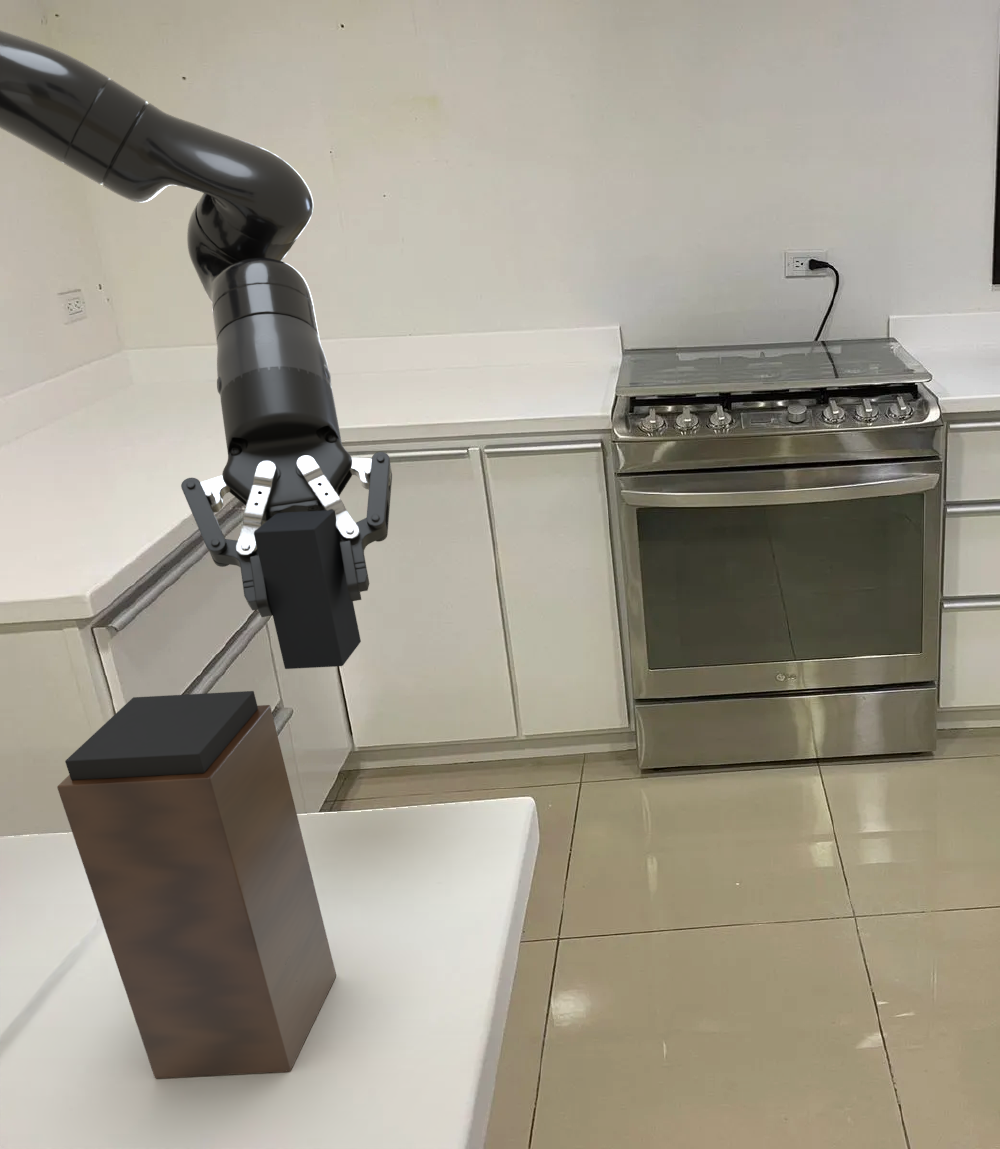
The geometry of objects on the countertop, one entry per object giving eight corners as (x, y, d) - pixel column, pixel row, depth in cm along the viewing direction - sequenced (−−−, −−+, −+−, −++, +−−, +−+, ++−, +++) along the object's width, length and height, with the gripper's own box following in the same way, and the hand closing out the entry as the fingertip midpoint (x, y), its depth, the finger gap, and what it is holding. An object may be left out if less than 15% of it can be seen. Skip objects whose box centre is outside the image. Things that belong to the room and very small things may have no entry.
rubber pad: (70, 780, 58) (64, 760, 58) (138, 715, 65) (133, 696, 65) (204, 773, 58) (198, 753, 58) (258, 708, 65) (253, 690, 64)
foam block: (284, 669, 77) (252, 531, 73) (305, 644, 80) (276, 512, 77) (342, 666, 77) (314, 528, 73) (361, 641, 80) (334, 509, 77)
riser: (154, 1078, 65) (55, 786, 58) (214, 982, 73) (134, 711, 65) (290, 1071, 65) (209, 778, 58) (337, 975, 73) (270, 704, 65)
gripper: (384, 409, 87) (423, 607, 81) (181, 435, 82) (206, 645, 76) (375, 351, 80) (417, 561, 74) (154, 375, 76) (179, 601, 69)
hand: (310, 603), depth 75 cm, fingers closed on foam block, 5 cm apart
